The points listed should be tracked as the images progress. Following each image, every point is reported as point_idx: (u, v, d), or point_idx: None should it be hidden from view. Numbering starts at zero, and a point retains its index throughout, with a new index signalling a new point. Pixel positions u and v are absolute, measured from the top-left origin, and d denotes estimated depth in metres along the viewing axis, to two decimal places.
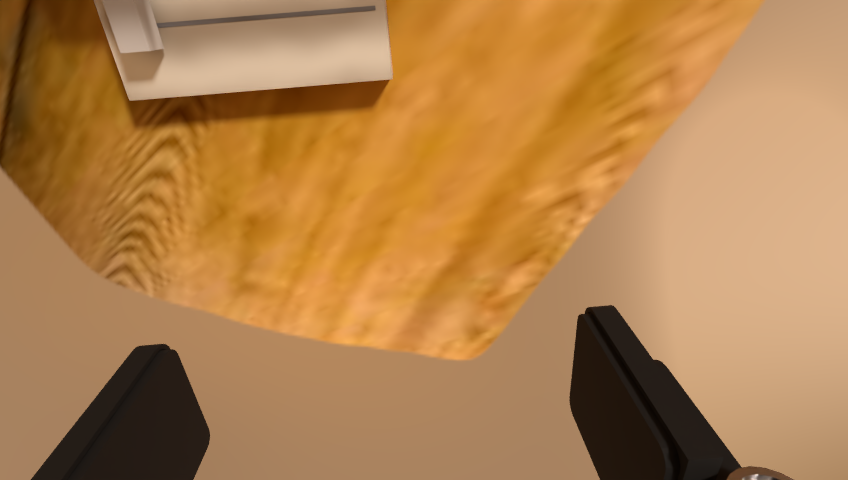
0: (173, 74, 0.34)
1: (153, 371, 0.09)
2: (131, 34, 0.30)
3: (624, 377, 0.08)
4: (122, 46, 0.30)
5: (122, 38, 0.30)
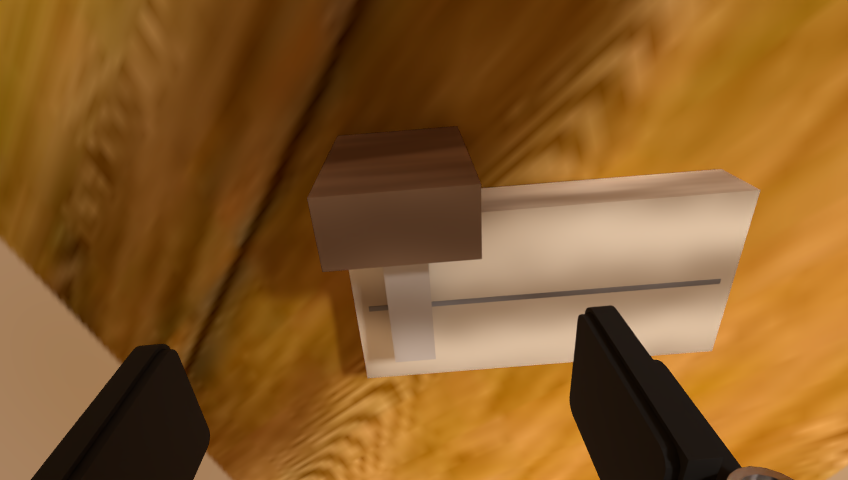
0: None
1: (153, 371, 0.09)
2: (416, 343, 0.22)
3: (624, 377, 0.08)
4: (400, 355, 0.22)
5: (403, 348, 0.22)
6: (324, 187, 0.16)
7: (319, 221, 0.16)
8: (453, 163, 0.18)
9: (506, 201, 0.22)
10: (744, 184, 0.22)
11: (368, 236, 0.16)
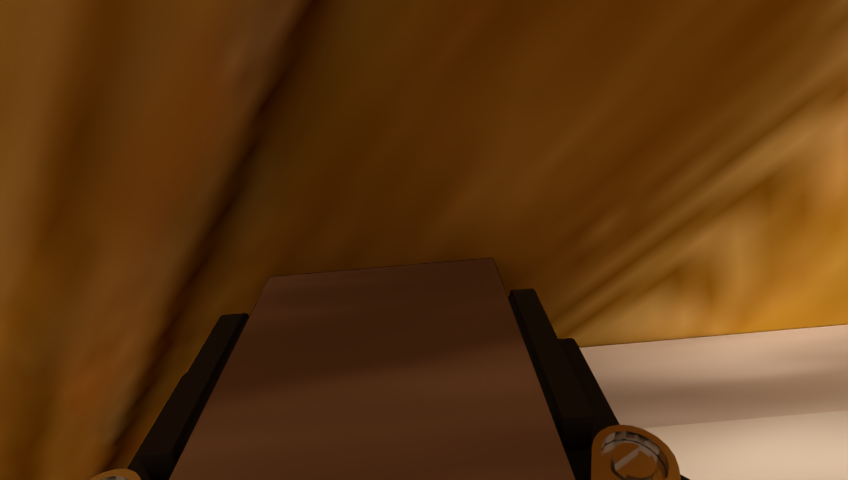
0: None
1: None
2: None
3: (528, 351, 0.09)
4: None
5: None
6: None
7: None
8: (511, 433, 0.07)
9: None
10: None
11: None
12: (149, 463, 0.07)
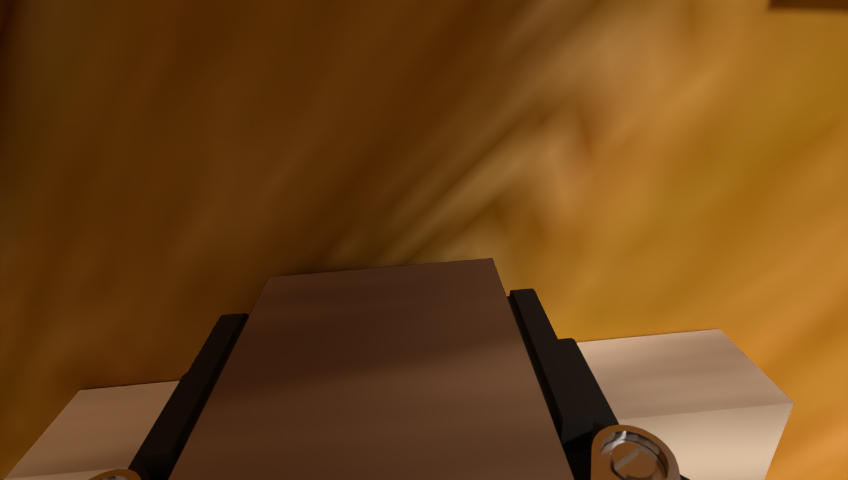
0: None
1: None
2: None
3: (528, 350, 0.09)
4: None
5: None
6: None
7: None
8: (510, 433, 0.07)
9: None
10: (763, 379, 0.12)
11: None
12: (149, 463, 0.07)
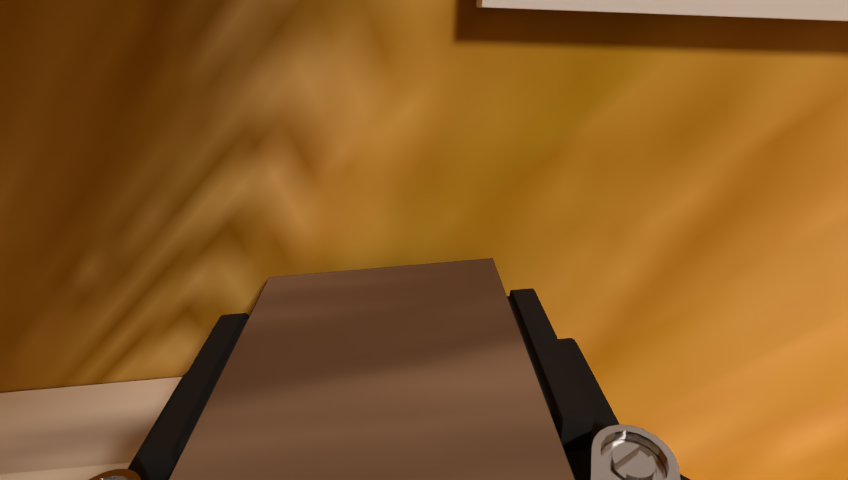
0: None
1: None
2: None
3: (528, 351, 0.09)
4: None
5: None
6: None
7: None
8: (511, 433, 0.07)
9: (72, 436, 0.12)
10: None
11: None
12: (149, 463, 0.07)
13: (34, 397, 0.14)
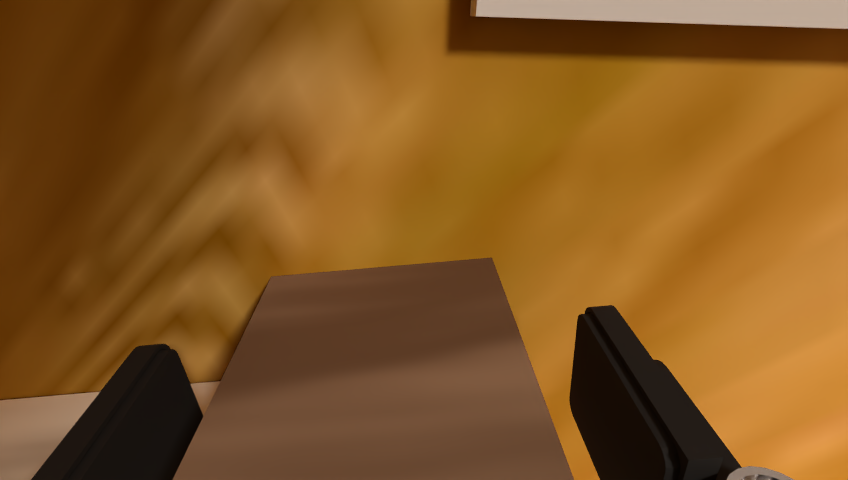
0: None
1: (153, 371, 0.09)
2: None
3: (624, 377, 0.08)
4: None
5: None
6: None
7: None
8: (509, 428, 0.07)
9: None
10: None
11: None
12: None
13: (20, 406, 0.13)
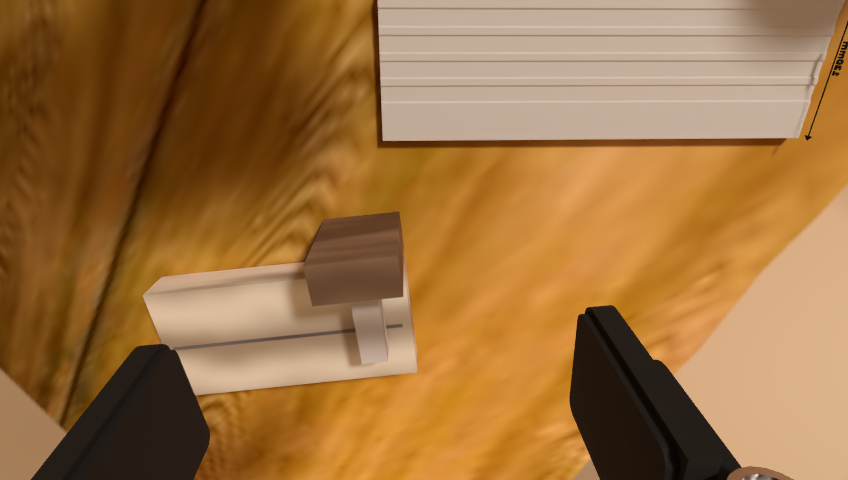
0: (223, 377, 0.38)
1: (153, 371, 0.09)
2: (374, 351, 0.34)
3: (624, 377, 0.08)
4: (364, 359, 0.34)
5: (366, 354, 0.34)
6: (312, 258, 0.29)
7: (309, 278, 0.29)
8: (387, 241, 0.31)
9: (252, 278, 0.35)
10: None
11: (337, 286, 0.29)
12: None
13: (231, 271, 0.37)
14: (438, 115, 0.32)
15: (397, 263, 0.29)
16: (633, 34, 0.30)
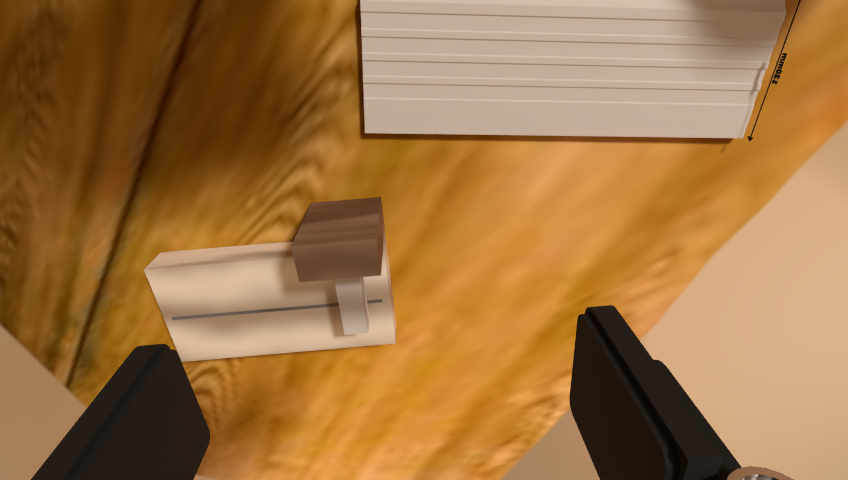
0: (218, 344, 0.41)
1: (153, 371, 0.09)
2: (355, 323, 0.38)
3: (624, 377, 0.08)
4: (347, 330, 0.38)
5: (348, 326, 0.38)
6: (299, 239, 0.33)
7: (297, 257, 0.32)
8: (367, 225, 0.34)
9: (245, 255, 0.39)
10: None
11: (321, 264, 0.32)
12: None
13: (225, 248, 0.40)
14: (415, 110, 0.35)
15: (375, 245, 0.32)
16: (594, 41, 0.33)
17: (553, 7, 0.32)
